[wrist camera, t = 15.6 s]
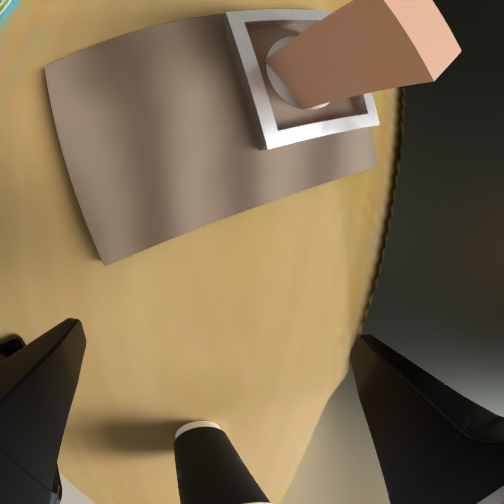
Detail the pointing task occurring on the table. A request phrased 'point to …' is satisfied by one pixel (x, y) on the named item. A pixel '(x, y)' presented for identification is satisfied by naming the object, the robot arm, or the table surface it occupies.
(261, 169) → the board
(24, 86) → the table surface
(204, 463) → the dixie cup
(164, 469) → the table surface
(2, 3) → the supplement bottle
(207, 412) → the table surface
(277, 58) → the terracotta pin
